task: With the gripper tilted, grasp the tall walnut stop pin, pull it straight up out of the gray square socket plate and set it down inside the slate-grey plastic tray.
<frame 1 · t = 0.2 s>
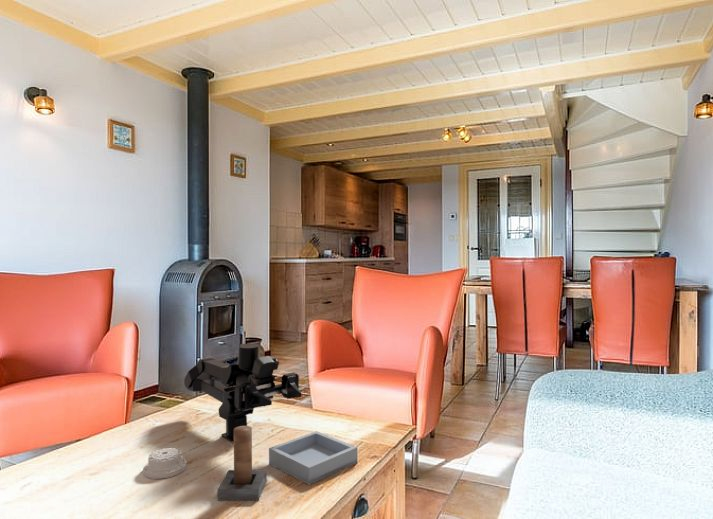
hand: (286, 398, 122), 17 cm above the table, tool horizontal, fingers open, 9 cm apart
tray: (313, 463, 122), on the table
gray square socket plate: (243, 490, 108), on the table
mechanical component: (165, 471, 119), on the table
stop pin: (242, 459, 108), in the gray square socket plate
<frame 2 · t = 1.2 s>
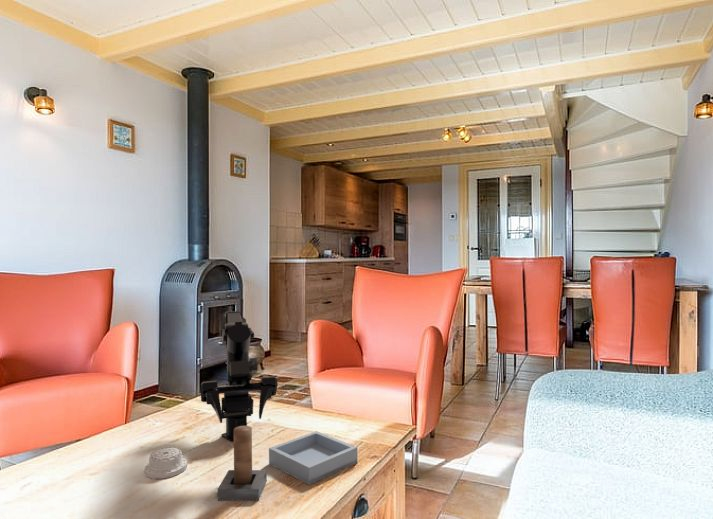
hand: (241, 420, 116), 13 cm above the table, tool tilted 45°, fingers open, 9 cm apart
nothing on the table moved.
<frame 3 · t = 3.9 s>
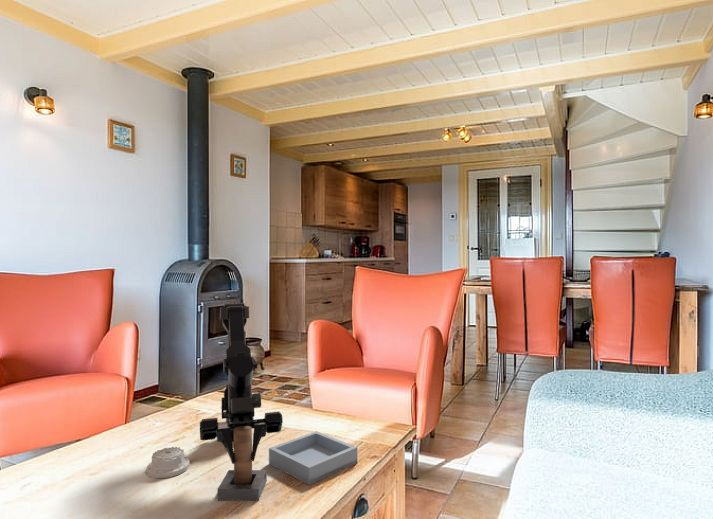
hand: (243, 461, 107), 7 cm above the table, tool tilted 45°, fingers closed on stop pin, 4 cm apart
stop pin: (243, 459, 108), in the gray square socket plate, touching gripper
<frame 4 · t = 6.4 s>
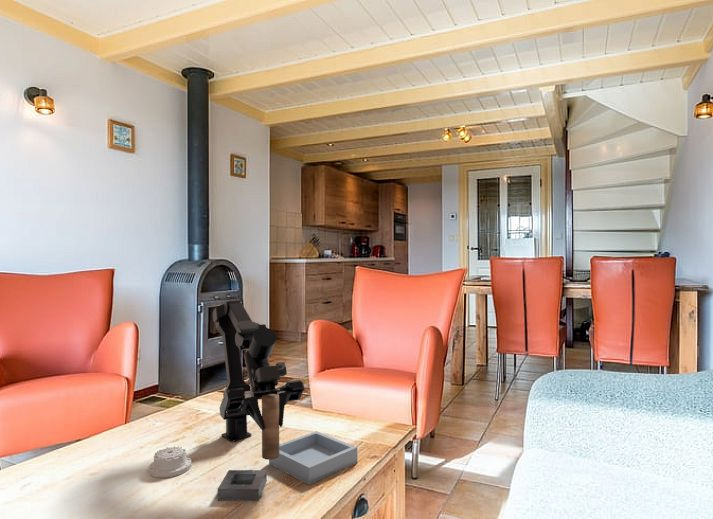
hand: (272, 427, 110), 13 cm above the table, tool tilted 45°, fingers closed on stop pin, 4 cm apart
stop pin: (270, 426, 112), point 13 cm above the table, touching gripper
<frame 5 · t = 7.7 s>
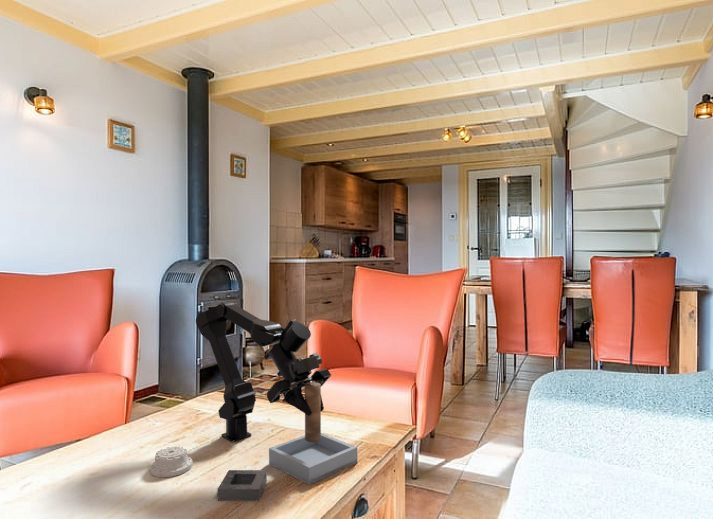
hand: (316, 412, 121), 13 cm above the table, tool tilted 45°, fingers closed on stop pin, 4 cm apart
stop pin: (312, 411, 122), point 13 cm above the table, touching gripper
when the fingers open (9 cm above the table, at t = 8.8 s): stop pin drops 1 cm, resting on tray.
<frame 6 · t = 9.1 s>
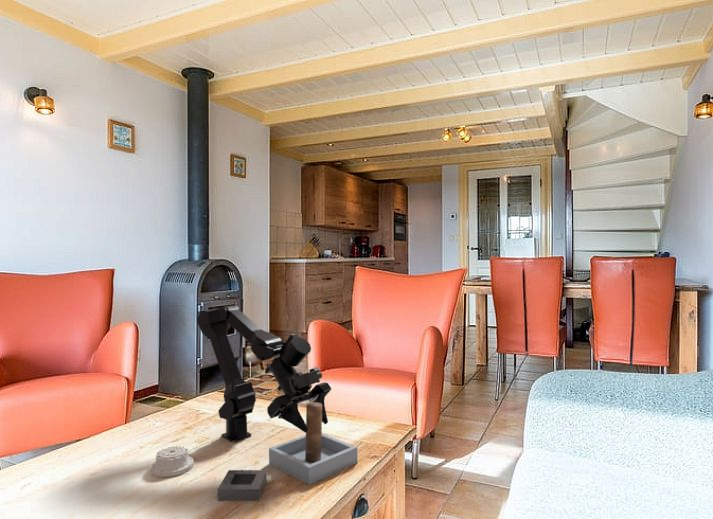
hand: (317, 427, 121), 10 cm above the table, tool tilted 45°, fingers open, 7 cm apart
stop pin: (313, 432, 122), in the tray, point 8 cm above the table
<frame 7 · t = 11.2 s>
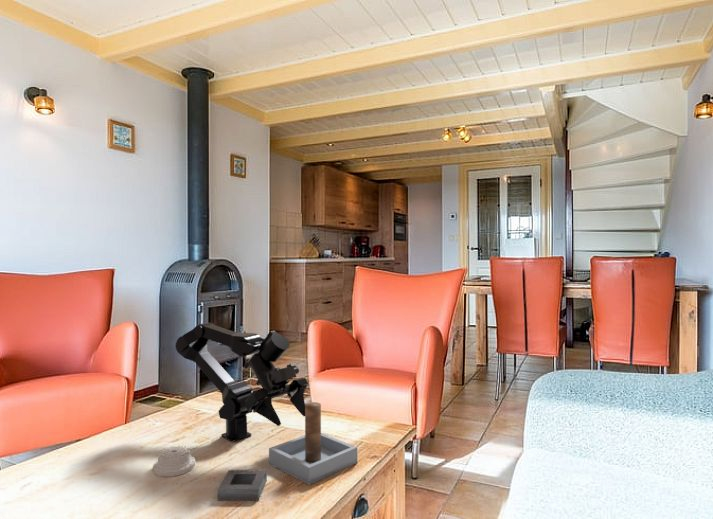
hand: (293, 420, 127), 9 cm above the table, tool tilted 45°, fingers open, 9 cm apart
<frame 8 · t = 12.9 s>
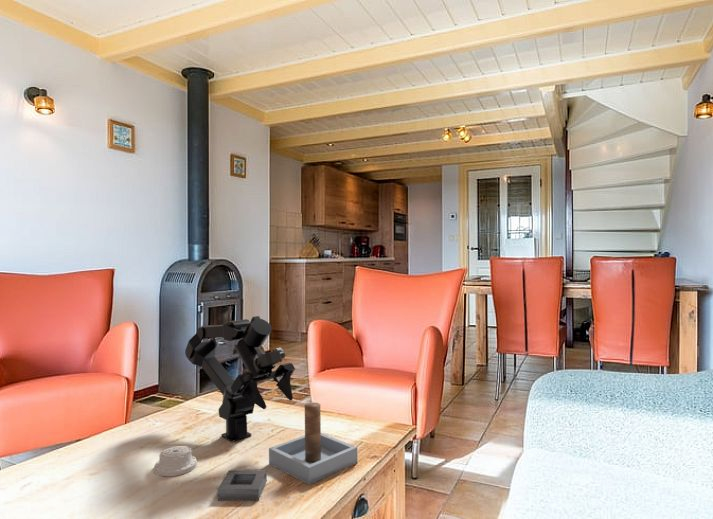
hand: (278, 403, 127), 14 cm above the table, tool tilted 45°, fingers open, 9 cm apart
at the end: stop pin inside the target area on the tray (0.1 cm from its centre), point 8.0 cm above the tray's base; the gripper is holding nothing; stop pin moved 20.0 cm from its start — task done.
